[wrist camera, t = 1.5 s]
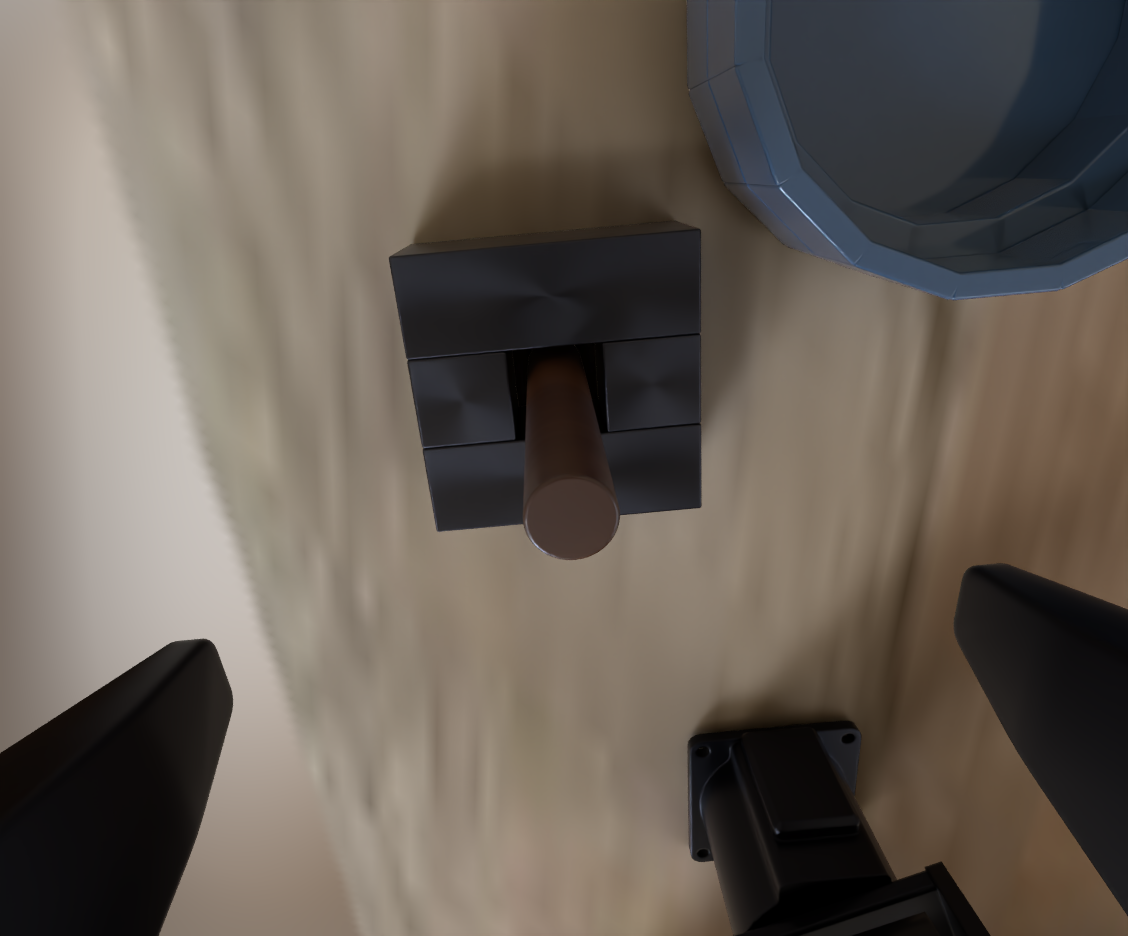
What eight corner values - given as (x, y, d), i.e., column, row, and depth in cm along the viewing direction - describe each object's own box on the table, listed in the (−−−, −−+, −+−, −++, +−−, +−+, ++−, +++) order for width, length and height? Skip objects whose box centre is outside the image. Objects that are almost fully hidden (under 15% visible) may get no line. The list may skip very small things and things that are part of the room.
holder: (680, 466, 22) (702, 508, 19) (448, 487, 22) (436, 532, 19) (677, 220, 19) (701, 228, 16) (409, 244, 19) (388, 256, 16)
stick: (583, 386, 21) (622, 557, 12) (530, 391, 21) (528, 565, 12) (579, 334, 20) (617, 470, 11) (525, 339, 20) (517, 479, 11)
